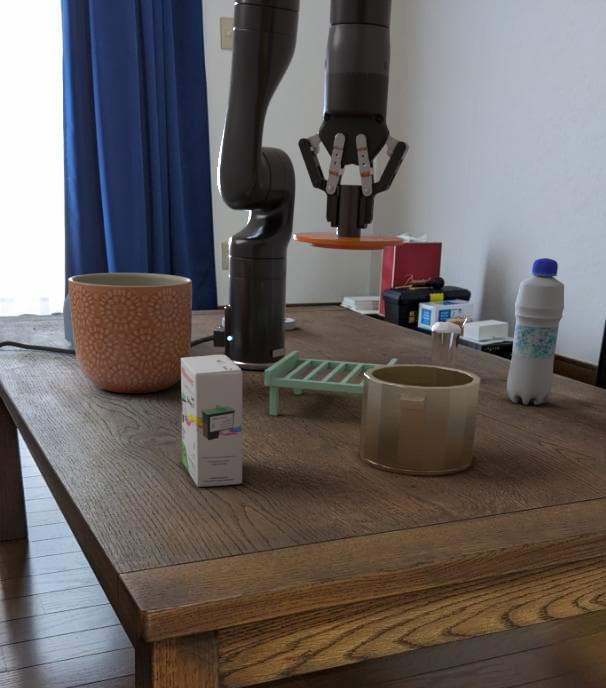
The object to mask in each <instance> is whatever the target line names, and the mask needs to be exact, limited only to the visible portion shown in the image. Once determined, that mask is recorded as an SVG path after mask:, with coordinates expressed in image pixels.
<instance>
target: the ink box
mask: <svg viewBox="0 0 606 688" xmlns="http://www.w3.org/2000/svg"><path fill="white" fill-rule="evenodd" d="M180 385H181V386H180V389H181V393H180V394H181V462H182V465H183V466H184V468H185V469H186V470H187V473H188V474H189V475H190V477H191V479H192V480H193V482H194V484H195V485H196V487H197V488H202V487H203V488H205V487H219V486H231V485H232V486H233V485H241V484H242V483H243V371H242V369H241V368H239V367H238V366H237V365H236V364H235V363H234V362H233V361H231V360H230V358H228V357H227V356H226V355H225V354H212V355H211V354H210V355H200V356H190V357H185V358H181V378H180Z"/></svg>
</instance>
